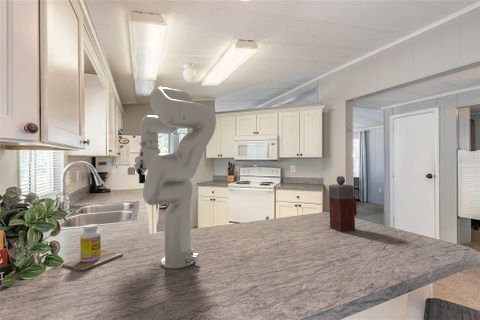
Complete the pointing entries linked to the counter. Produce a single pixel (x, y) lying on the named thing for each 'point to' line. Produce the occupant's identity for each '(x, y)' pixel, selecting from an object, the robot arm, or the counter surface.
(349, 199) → the red canister
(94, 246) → the supplement bottle
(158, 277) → the counter surface
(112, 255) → the board
